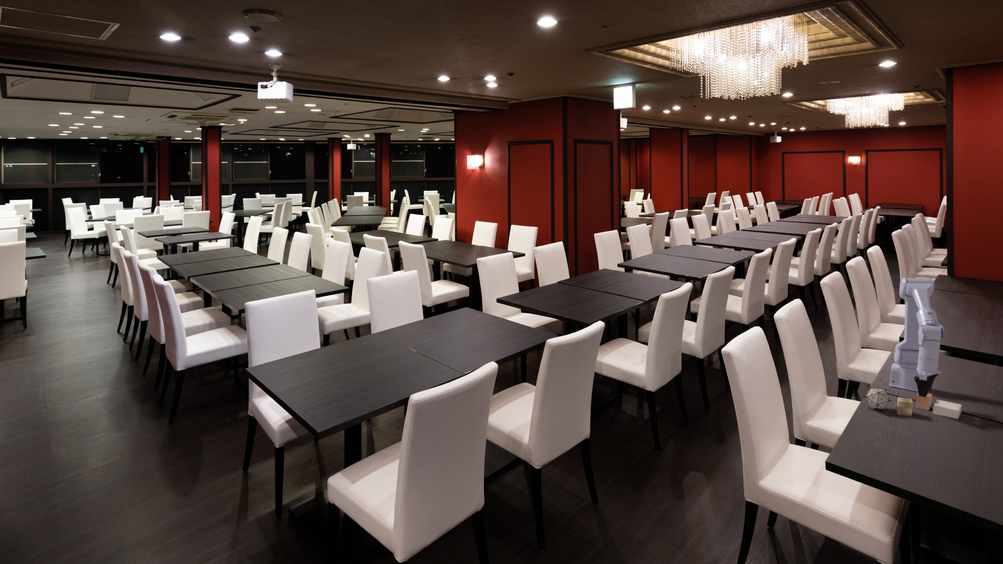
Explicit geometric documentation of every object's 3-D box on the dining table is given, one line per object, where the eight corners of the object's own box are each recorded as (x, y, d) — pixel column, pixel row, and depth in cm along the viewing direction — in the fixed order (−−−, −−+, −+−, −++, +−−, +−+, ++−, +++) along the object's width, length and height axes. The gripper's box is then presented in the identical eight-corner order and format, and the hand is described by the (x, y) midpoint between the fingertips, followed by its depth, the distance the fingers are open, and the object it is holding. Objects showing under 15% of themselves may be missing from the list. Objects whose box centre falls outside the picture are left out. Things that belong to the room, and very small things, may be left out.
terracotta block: (915, 407, 203) (916, 394, 203) (917, 404, 206) (918, 391, 205) (928, 410, 201) (930, 397, 200) (930, 406, 203) (932, 394, 202)
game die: (878, 420, 202) (880, 406, 196) (856, 405, 209) (858, 390, 202) (896, 406, 204) (899, 391, 197) (873, 391, 210) (876, 376, 203)
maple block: (897, 414, 199) (898, 401, 198) (896, 410, 202) (897, 397, 201) (911, 416, 197) (912, 403, 196) (910, 412, 200) (911, 398, 199)
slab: (932, 413, 198) (933, 405, 197) (936, 407, 203) (937, 399, 202) (957, 419, 193) (958, 410, 192) (960, 412, 198) (961, 404, 197)
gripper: (938, 365, 192) (934, 402, 195) (945, 354, 202) (941, 390, 205) (913, 361, 197) (910, 397, 200) (921, 351, 207) (918, 385, 209)
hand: (924, 393), depth 202 cm, fingers open, 7 cm apart
